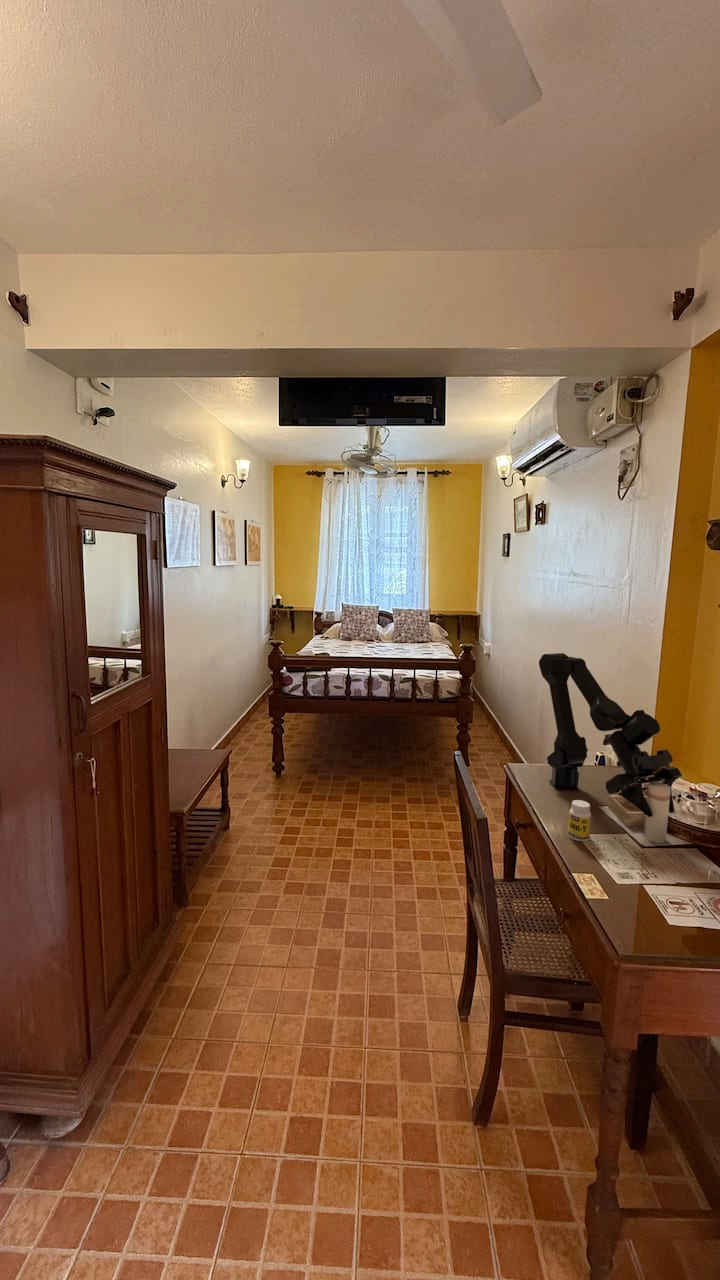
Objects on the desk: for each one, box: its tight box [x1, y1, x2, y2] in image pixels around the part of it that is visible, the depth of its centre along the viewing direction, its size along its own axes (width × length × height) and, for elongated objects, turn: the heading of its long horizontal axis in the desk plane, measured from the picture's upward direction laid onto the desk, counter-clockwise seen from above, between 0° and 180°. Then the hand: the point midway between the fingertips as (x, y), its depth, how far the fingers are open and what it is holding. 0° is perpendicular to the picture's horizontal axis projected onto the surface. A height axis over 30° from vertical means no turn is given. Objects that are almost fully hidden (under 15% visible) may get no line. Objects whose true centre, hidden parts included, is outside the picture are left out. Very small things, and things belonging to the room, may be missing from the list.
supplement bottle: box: [567, 799, 592, 842], centre depth 130 cm, size 5×5×8 cm
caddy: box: [607, 794, 668, 827], centre depth 141 cm, size 10×10×4 cm
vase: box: [643, 782, 672, 844], centre depth 129 cm, size 5×5×13 cm
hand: (662, 814), depth 128 cm, fingers open, 6 cm apart
